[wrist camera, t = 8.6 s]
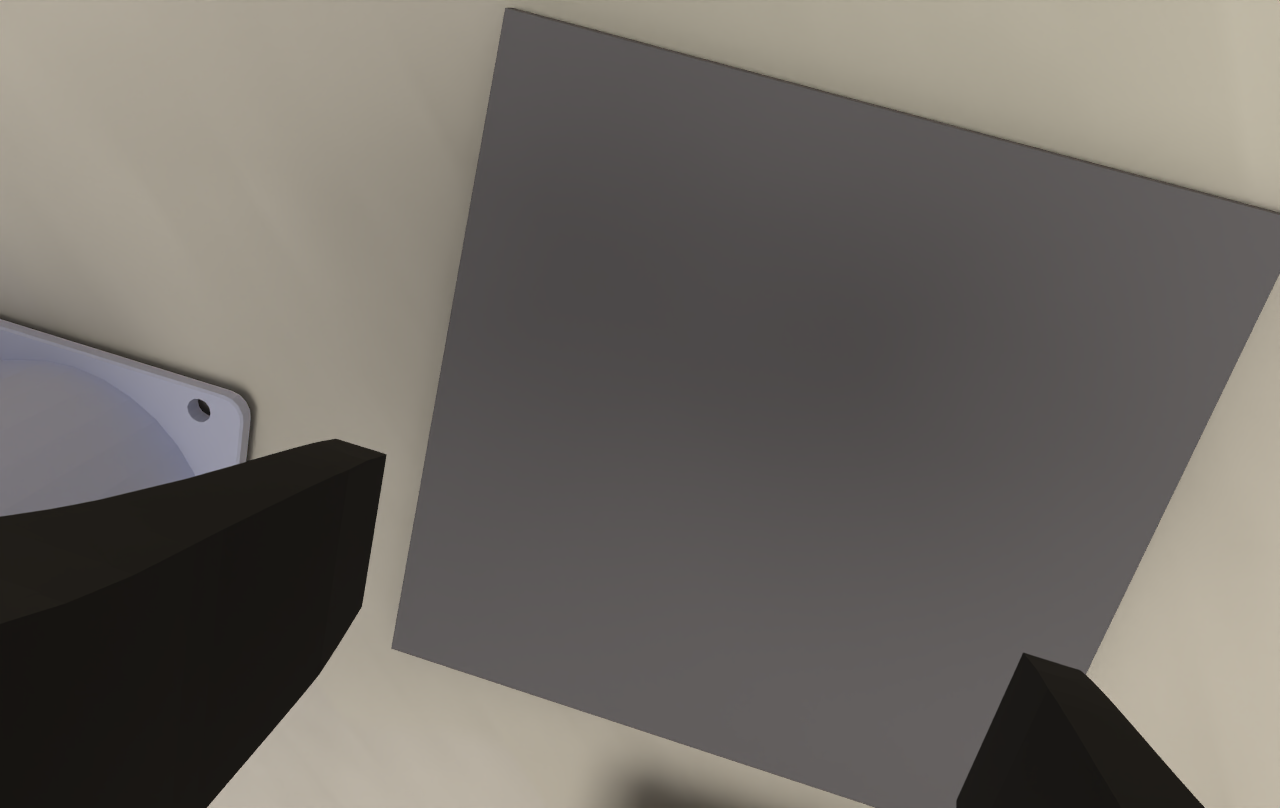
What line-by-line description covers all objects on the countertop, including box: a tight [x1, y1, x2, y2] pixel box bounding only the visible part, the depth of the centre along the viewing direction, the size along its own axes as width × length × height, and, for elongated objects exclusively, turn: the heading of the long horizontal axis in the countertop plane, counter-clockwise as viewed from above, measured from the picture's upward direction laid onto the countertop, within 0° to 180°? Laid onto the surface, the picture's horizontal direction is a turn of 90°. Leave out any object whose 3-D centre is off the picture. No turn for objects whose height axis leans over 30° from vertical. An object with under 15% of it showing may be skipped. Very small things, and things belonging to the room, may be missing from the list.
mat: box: [392, 8, 1280, 808], centre depth 21 cm, size 14×14×1 cm
